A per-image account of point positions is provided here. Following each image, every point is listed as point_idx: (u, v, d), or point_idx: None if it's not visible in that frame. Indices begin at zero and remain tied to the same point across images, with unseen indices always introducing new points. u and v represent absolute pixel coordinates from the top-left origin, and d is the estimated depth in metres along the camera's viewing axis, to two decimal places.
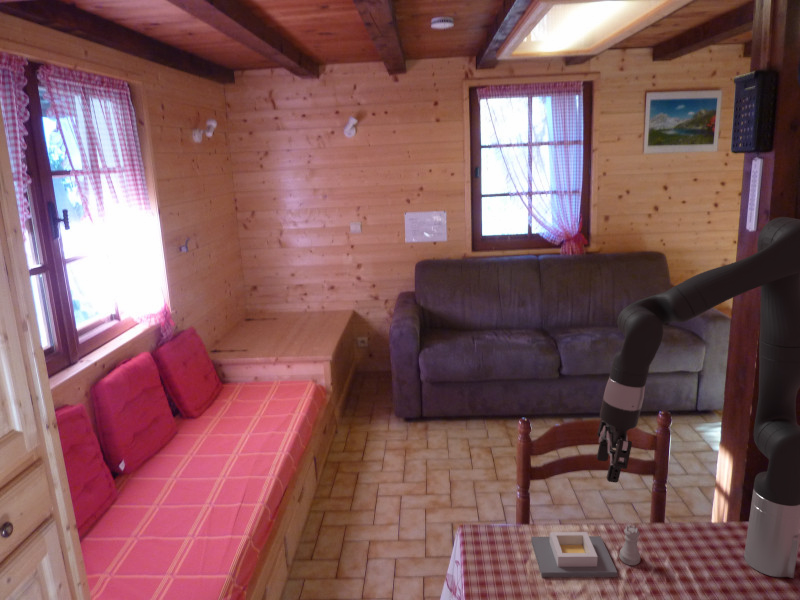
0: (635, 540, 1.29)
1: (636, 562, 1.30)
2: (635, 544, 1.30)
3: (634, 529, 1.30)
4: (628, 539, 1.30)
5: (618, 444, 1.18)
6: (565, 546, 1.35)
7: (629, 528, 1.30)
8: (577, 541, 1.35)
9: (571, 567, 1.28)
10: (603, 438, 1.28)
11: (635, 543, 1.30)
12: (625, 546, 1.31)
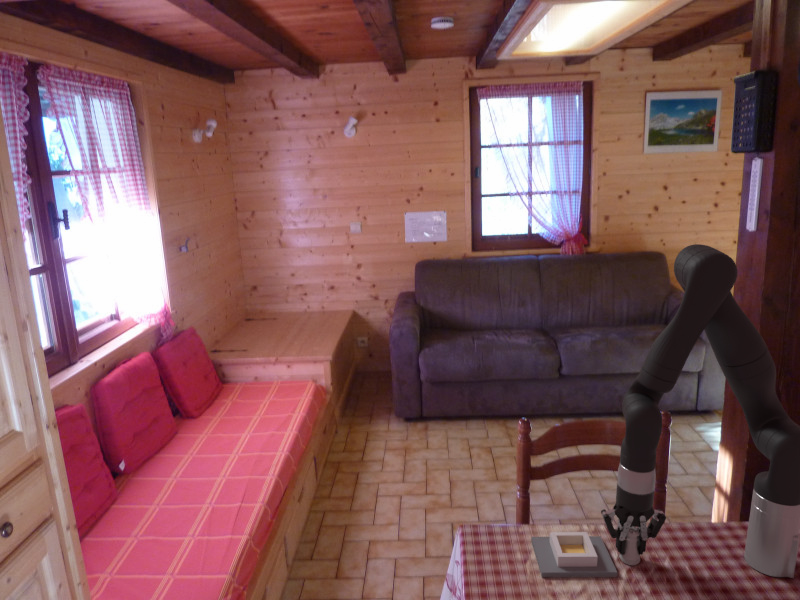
0: (635, 540, 1.29)
1: (636, 562, 1.30)
2: (635, 544, 1.30)
3: (634, 529, 1.30)
4: (628, 539, 1.30)
5: None
6: (565, 546, 1.35)
7: None
8: (577, 541, 1.35)
9: (571, 567, 1.28)
10: None
11: (635, 543, 1.30)
12: (625, 546, 1.31)
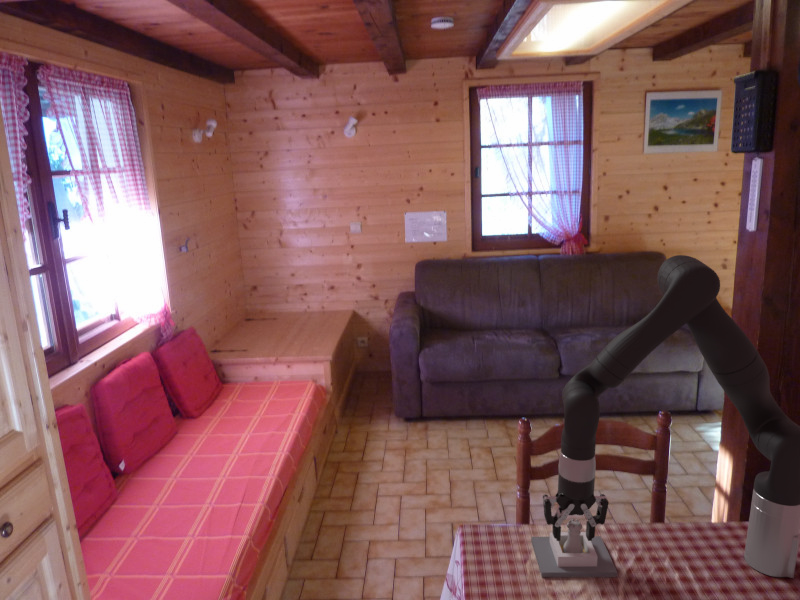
0: (577, 534, 1.30)
1: None
2: (578, 537, 1.30)
3: (576, 523, 1.31)
4: (570, 533, 1.30)
5: None
6: None
7: (572, 522, 1.31)
8: None
9: (571, 567, 1.28)
10: None
11: (577, 537, 1.30)
12: (568, 540, 1.31)
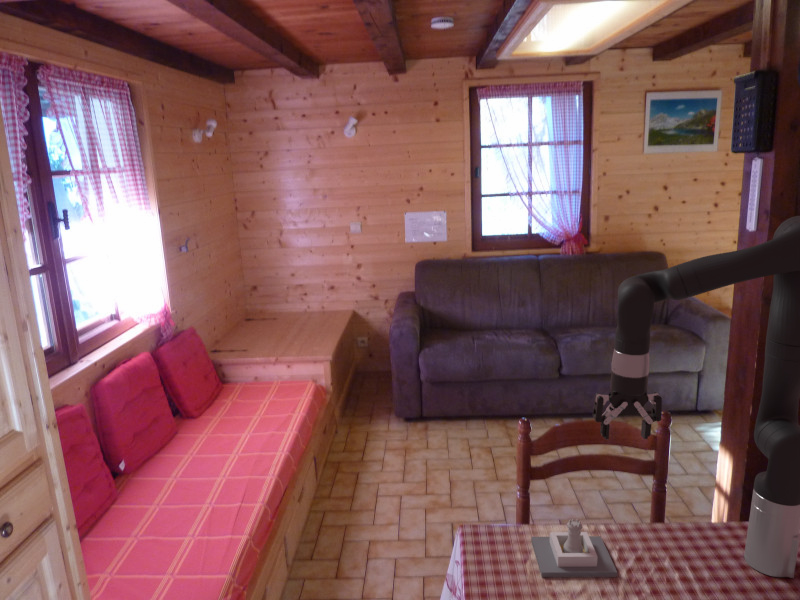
0: (577, 534, 1.30)
1: None
2: (578, 538, 1.30)
3: (577, 523, 1.31)
4: (570, 533, 1.30)
5: None
6: None
7: (572, 522, 1.31)
8: None
9: (571, 567, 1.28)
10: None
11: (578, 537, 1.30)
12: (568, 540, 1.31)
